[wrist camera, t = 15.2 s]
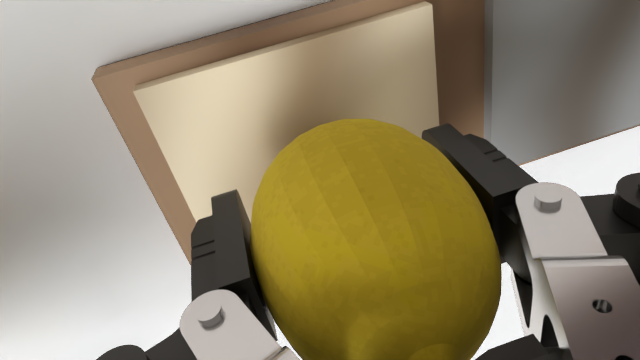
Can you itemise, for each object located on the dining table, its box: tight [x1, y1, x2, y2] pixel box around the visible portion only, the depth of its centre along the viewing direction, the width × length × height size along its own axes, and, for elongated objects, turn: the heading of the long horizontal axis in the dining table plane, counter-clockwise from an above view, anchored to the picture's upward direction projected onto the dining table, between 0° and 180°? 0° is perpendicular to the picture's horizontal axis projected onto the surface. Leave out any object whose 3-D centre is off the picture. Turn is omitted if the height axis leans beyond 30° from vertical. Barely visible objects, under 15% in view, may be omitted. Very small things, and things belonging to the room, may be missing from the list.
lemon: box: [250, 118, 501, 360], centre depth 11 cm, size 6×6×8 cm
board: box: [92, 0, 640, 265], centre depth 16 cm, size 22×8×2 cm, turn 102°
